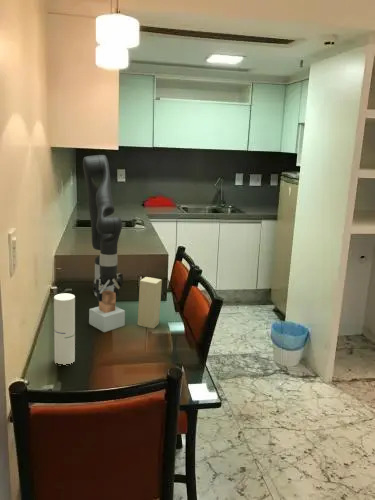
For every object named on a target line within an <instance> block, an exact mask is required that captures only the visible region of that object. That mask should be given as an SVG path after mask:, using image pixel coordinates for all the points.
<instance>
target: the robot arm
mask: <svg viewBox="0 0 375 500" xmlns="http://www.w3.org/2000/svg"><path fill="white" fill-rule="evenodd" d="M109 165H110V164H109V161H108V157H107V155H105V154H96V155H87V156H84V157H83V159H82V169H83V175H84V180H85V186H86V192H87V202H88V203H87V204H88V211H89V218H90V227H91V228H90V230H91V244H92V248H93V249H94V250H97V251H100V253H99V255H97V256H96V257H95V258H94V278H93V281H92V292H93V293H94V296H95V297H96V300H97V301H98V302H99V301H100V302H101V301H102V292H103V291H106V290H110V291H112V292H114V293H116V298H118V297H119V293H120V290H119V289H120V288H121V287H123V286H124V280H123V278H124V277H123V273H120V272H118V261H119V259H118V257H119V256H118V242H119V238H120V235H121V232H122V229H123V221H122V219H121V218H120V217H119V216H111V215H113V214H114V213H115V204H114V201H113V194H112V186H111V185H112V184H111V174H110V166H109ZM93 177H94V178H95V177H97V178H98V177H102V181H101V183H100V185H99V187H98V186H97V184H96V183H95V181H94V179H93Z"/></svg>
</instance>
